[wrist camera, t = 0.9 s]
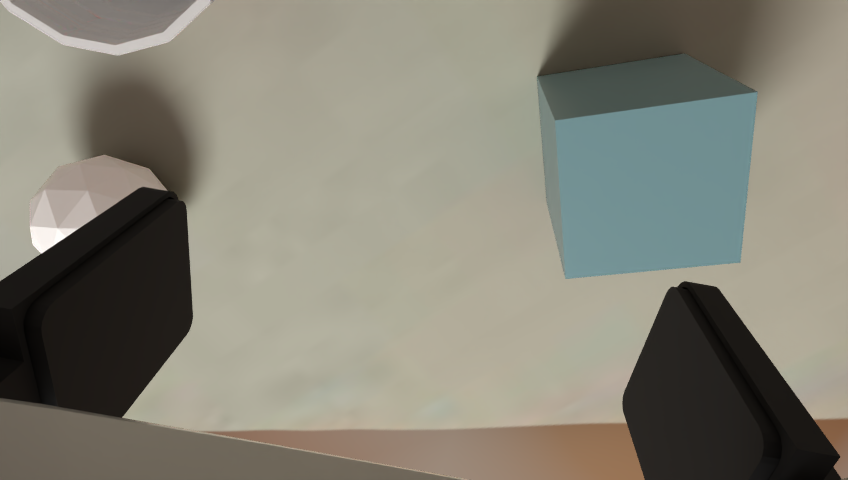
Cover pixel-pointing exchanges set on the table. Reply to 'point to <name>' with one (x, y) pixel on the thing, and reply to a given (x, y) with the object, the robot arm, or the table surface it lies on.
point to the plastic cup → (108, 21)
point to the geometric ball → (82, 196)
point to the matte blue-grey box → (646, 165)
